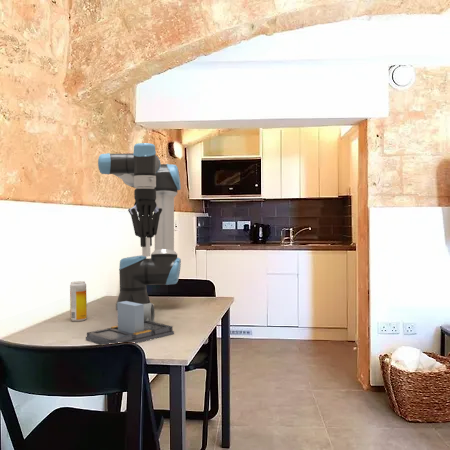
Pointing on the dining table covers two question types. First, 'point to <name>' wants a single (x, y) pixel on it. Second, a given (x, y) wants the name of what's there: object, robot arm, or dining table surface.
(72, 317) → the beer can
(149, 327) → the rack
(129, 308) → the blue-grey rectangular block
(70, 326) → the dining table surface
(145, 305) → the ceramic mug
